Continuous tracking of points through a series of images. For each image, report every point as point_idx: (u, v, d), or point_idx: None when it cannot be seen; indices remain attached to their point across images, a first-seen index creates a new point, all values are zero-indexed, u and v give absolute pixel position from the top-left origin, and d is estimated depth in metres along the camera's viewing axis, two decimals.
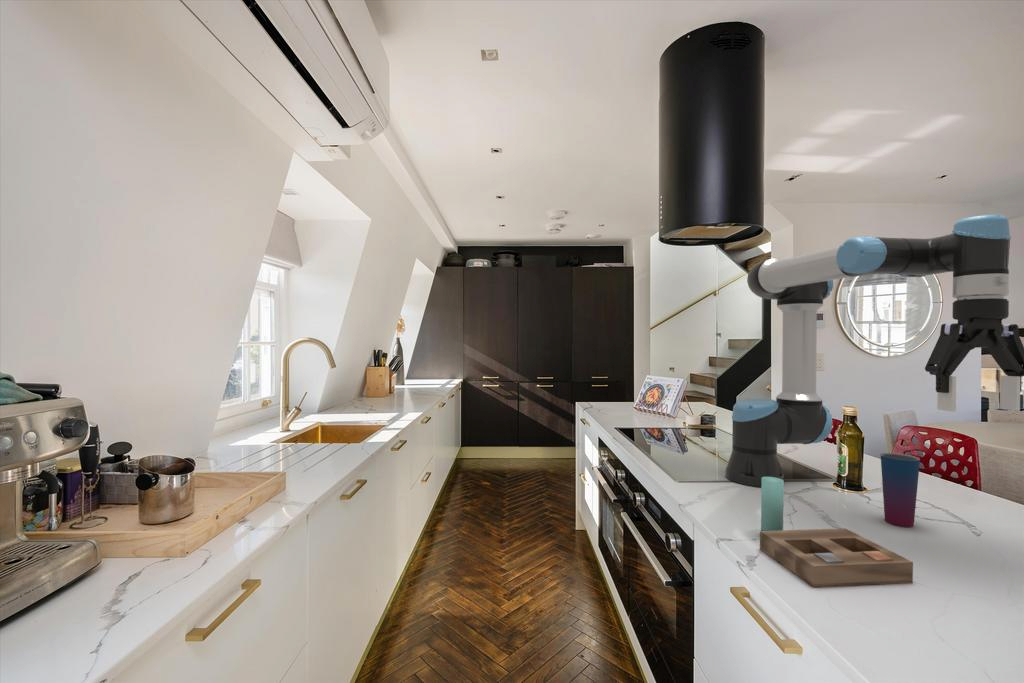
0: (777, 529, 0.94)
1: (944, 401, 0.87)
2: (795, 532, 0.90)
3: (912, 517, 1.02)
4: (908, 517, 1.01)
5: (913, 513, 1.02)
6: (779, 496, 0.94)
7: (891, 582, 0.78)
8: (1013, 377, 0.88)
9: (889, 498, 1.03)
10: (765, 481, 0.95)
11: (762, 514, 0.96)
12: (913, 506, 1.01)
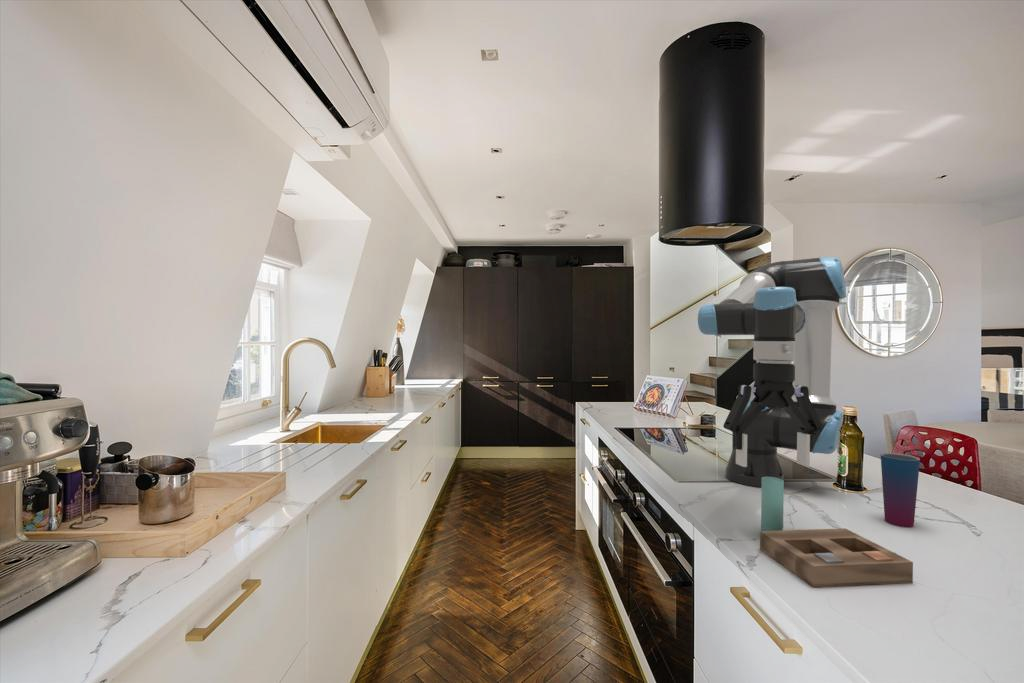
0: (777, 529, 0.94)
1: (739, 456, 0.95)
2: (795, 532, 0.90)
3: (912, 517, 1.02)
4: (908, 517, 1.01)
5: (913, 513, 1.02)
6: (779, 496, 0.94)
7: (891, 582, 0.78)
8: (804, 435, 0.95)
9: (889, 498, 1.03)
10: (765, 481, 0.95)
11: (762, 514, 0.96)
12: (913, 506, 1.01)
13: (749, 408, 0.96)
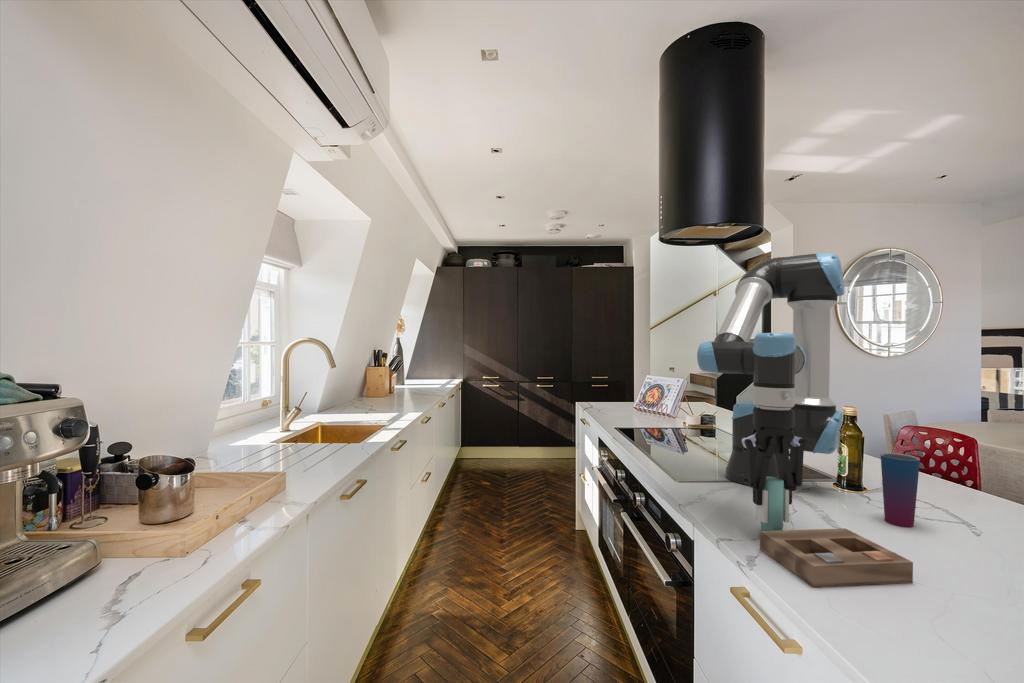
0: (777, 529, 0.94)
1: (759, 512, 0.95)
2: (795, 532, 0.90)
3: (912, 517, 1.02)
4: (908, 517, 1.01)
5: (913, 513, 1.02)
6: (779, 496, 0.94)
7: (891, 582, 0.78)
8: None
9: (889, 498, 1.03)
10: (765, 481, 0.95)
11: None
12: (913, 506, 1.01)
13: (758, 459, 0.96)
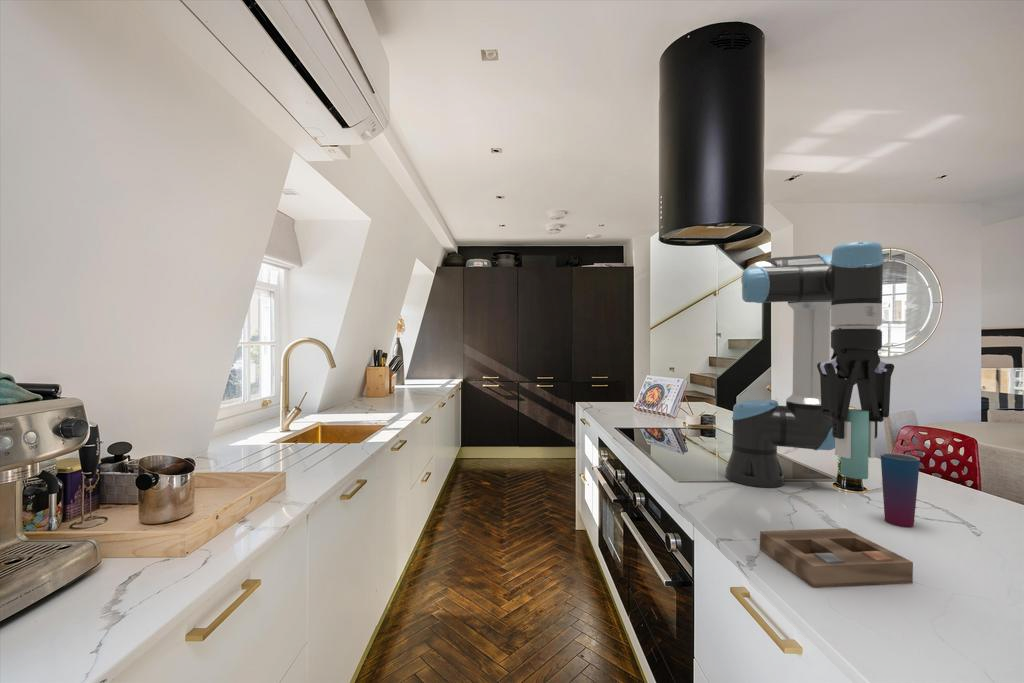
0: (862, 465, 0.82)
1: (840, 447, 0.84)
2: (795, 532, 0.90)
3: (912, 517, 1.02)
4: (908, 517, 1.01)
5: (913, 513, 1.02)
6: (865, 428, 0.82)
7: (891, 582, 0.78)
8: None
9: (889, 498, 1.03)
10: None
11: None
12: (913, 506, 1.01)
13: (838, 387, 0.85)
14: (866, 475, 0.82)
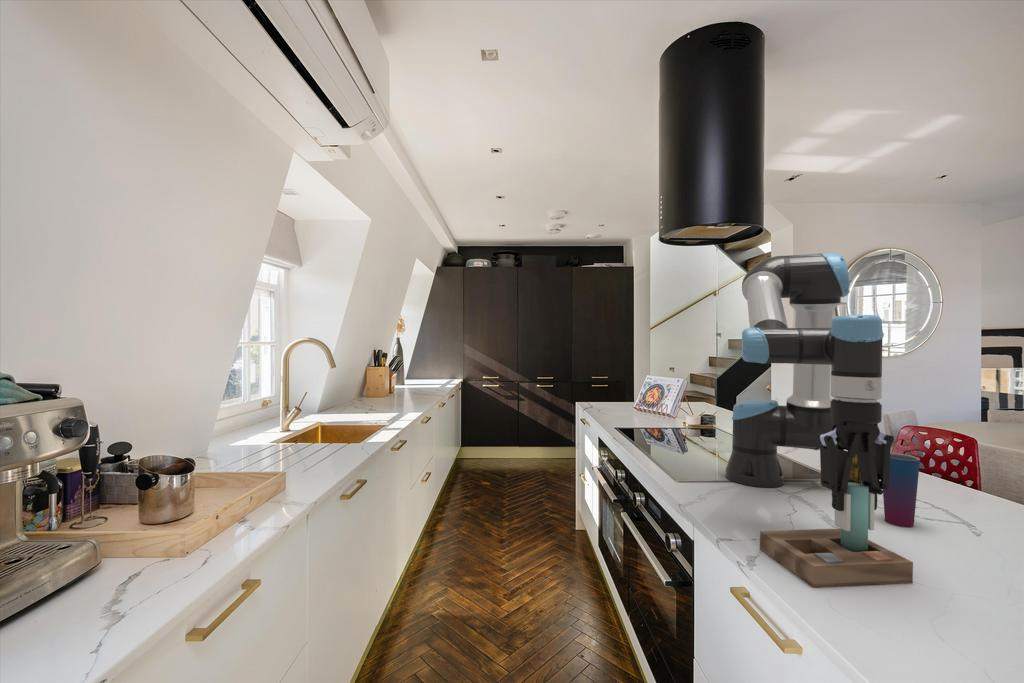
0: (862, 542, 0.82)
1: (840, 518, 0.84)
2: (795, 532, 0.90)
3: (912, 517, 1.02)
4: (908, 517, 1.01)
5: (913, 513, 1.02)
6: (864, 505, 0.82)
7: (891, 582, 0.78)
8: None
9: (889, 498, 1.03)
10: (847, 487, 0.84)
11: None
12: (913, 506, 1.01)
13: (838, 459, 0.85)
14: None
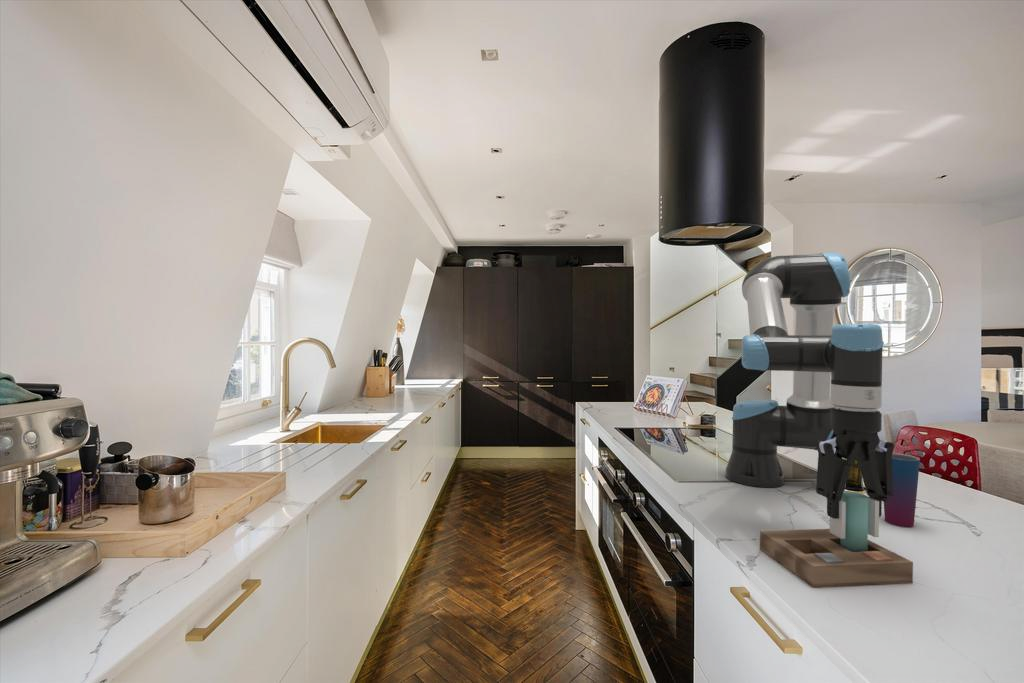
0: None
1: (835, 526, 0.84)
2: (795, 532, 0.90)
3: (912, 517, 1.02)
4: (908, 517, 1.01)
5: (913, 513, 1.02)
6: (864, 515, 0.82)
7: (891, 582, 0.78)
8: (872, 501, 0.84)
9: (889, 498, 1.03)
10: (847, 497, 0.84)
11: None
12: (913, 506, 1.01)
13: (835, 466, 0.85)
14: None
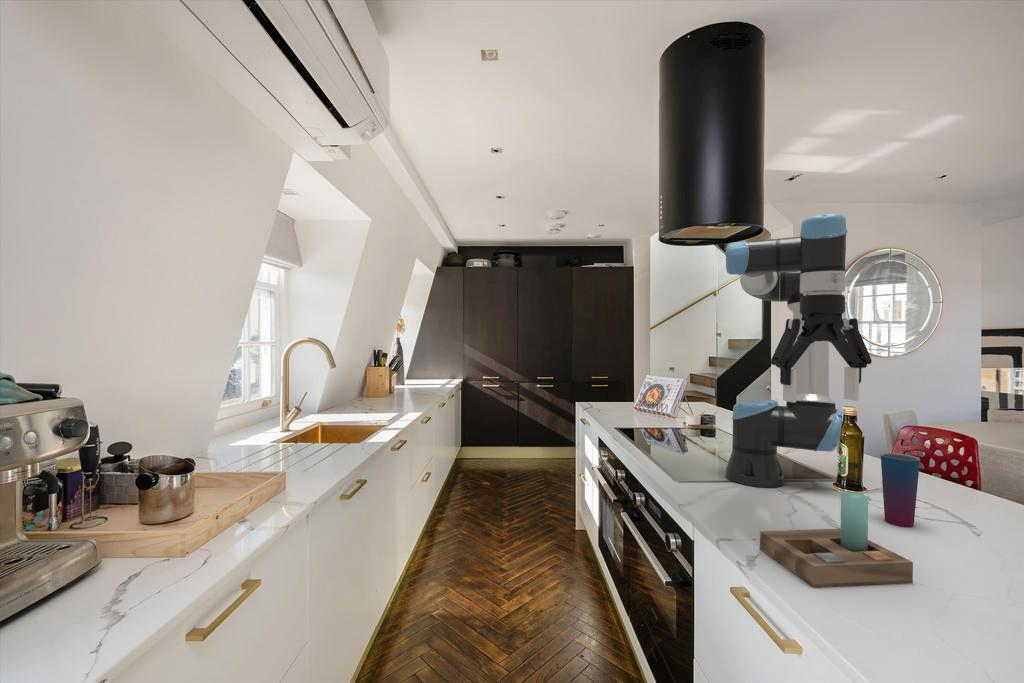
0: None
1: (787, 393, 0.92)
2: (795, 532, 0.90)
3: (912, 517, 1.02)
4: (908, 517, 1.01)
5: (913, 513, 1.02)
6: (864, 515, 0.82)
7: (891, 582, 0.78)
8: (853, 369, 0.92)
9: (889, 498, 1.03)
10: (847, 498, 0.84)
11: (842, 535, 0.85)
12: (913, 506, 1.01)
13: (797, 343, 0.92)
14: None
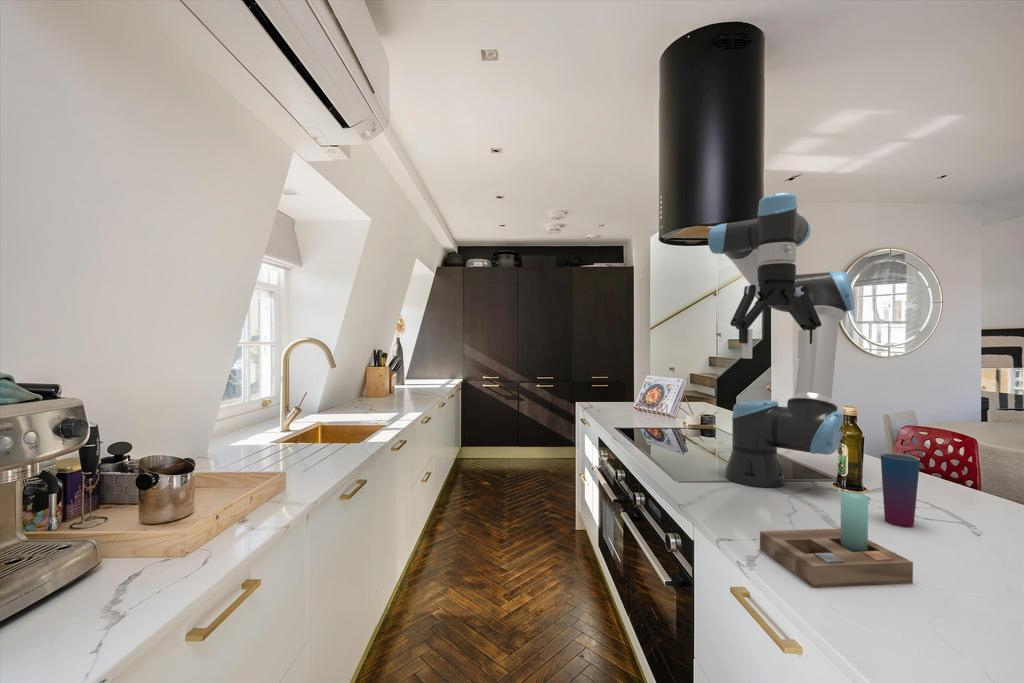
0: None
1: (745, 350, 1.03)
2: (795, 532, 0.90)
3: (912, 517, 1.02)
4: (908, 517, 1.01)
5: (913, 513, 1.02)
6: (864, 515, 0.82)
7: (891, 582, 0.78)
8: (804, 330, 1.04)
9: (889, 498, 1.03)
10: (847, 498, 0.84)
11: (842, 535, 0.85)
12: (913, 506, 1.01)
13: (754, 307, 1.04)
14: None
